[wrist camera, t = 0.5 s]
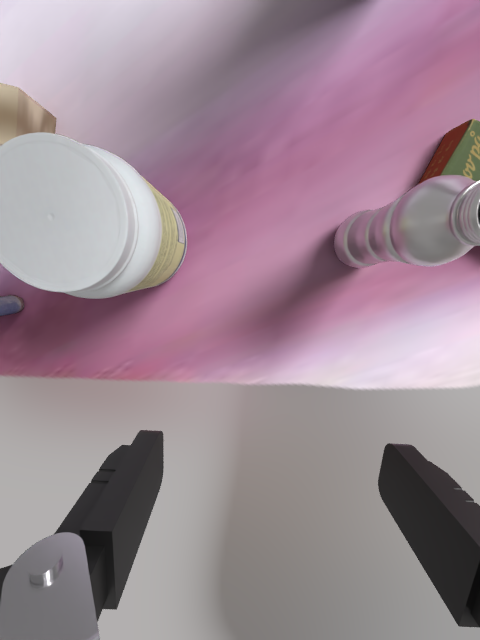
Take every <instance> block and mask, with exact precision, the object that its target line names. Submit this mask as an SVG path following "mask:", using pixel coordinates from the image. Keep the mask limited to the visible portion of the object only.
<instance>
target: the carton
mask: <svg viewBox="0 0 480 640" xmlns="http://www.w3.org/2000/svg"><path fill="white" fill-rule="evenodd" d="M442 175H461V176H465V177H468V178H470V179H472V180H474V181H475V182H476V181H479V180H480V122H479V121H477V120H475V119H471V120H469V121H467V122H465V123H463V124H461V125H460V126H458V127H456V128H454V129H452V130H451V131H449V132H448V133H446V134H445V136H444V138H443V140H442V142H441V143H440V145H439V147H438V149H437V151H436V152H435V154H434V156H433V158H432V160H431V162H430V163H429V165H428V167H427V169H426V171H425V173H424V175H423V176H422V178H421V180H420V182H419V184H420V183H422V182H424V181H425V180H428V179H430V178H433V177H437V176H442Z"/></svg>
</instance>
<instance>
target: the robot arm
mask: <svg viewBox="0 0 480 640" xmlns="http://www.w3.org/2000/svg"><path fill="white" fill-rule="evenodd" d="M162 477H163V432H162V431H147V430H141V431H140V432H139V433H138V434H137V436H136V438H135V439H134V441H133V443H132V444H131V445H122V446H120V447H119V448H118V449H116V450H115V451H114V452H113V453H111V454H110V455H109V456H108V457H107V459H106V460H105V461H104V463H103V464H102V466H101V467H100V469H99V472H97V473H96V475H95V476H94V477H93V479H92V481H91V483H89V485H88V486H87V488H86V489H85V491H84V492H83V494H82V495H81V496H80V498H79V499H78V501H77V502H76V504H75V505H74V506H73V508H72V509H71V511H70V512H69V514H68V515H67V517H66V518H65V519H64V521H63V522H62V524H61V525H60V527H59V528H58V530H57V531H56V532H55V534H54V535H51V536H49V537H46V538H44V539H42V540H40V541H39V542H37V543H35V544H34V545H32V547H30V548H29V549H27V550H26V551H25V552H24V553H23V554H22V555H21V556H20V557H19V558H18V559H17V560H16V561H15V562H14V564H13V565H10V566H7V567H4V568H1V569H0V640H100V636H99V631H98V624H97V621H98V619H99V616H100V614H101V611H102V609H117V607H118V604H119V601H120V598H121V596H122V593H123V590H124V587H125V584H126V581H127V579H128V576H129V573H130V570H131V568H132V565H133V562H134V559H135V557H136V554H137V551H138V548H139V545H140V543H141V540H142V537H143V534H144V531H145V528H146V526H147V523H148V520H149V518H150V515H151V512H152V509H153V506H154V504H155V501H156V498H157V495H158V492H159V489H160V486H161V482H162ZM378 486H379V492H380V495H381V497H382V500H383V502H384V503H385V505H386V506H387V508H388V510H389V512H390V513H391V515H392V516H393V518H394V520H395V522H396V523H397V525H398V527H399V528H400V530H401V532H402V533H403V535H404V536H405V538H406V540H407V541H408V543H409V545H410V546H411V548H412V550H413V551H414V553H415V555H416V556H417V558H418V560H419V561H420V563H421V564H422V566H423V568H424V570H425V571H426V573H427V575H428V576H429V578H430V579H431V581H432V583H433V584H434V586H435V588H436V589H437V591H438V593H439V594H440V596H441V598H442V599H443V601H444V603H445V604H446V606H447V608H448V609H449V611H450V612H451V614H452V616H453V618H454V619H455V621H456V623H457V624H458V626H462V627H480V506H479V505H478V504H477V503H474V500H473V499H472V498H471V497H470V496H469V495H468V494H467V493H466V492H465V491H463V490H462V488H461V487H460V486H459V485H458V484H457V483H456V482H455V481H454V480H453V479H452V478H451V477H450V476H449V475H448V473H446V472H445V471H443V470H442V469H440V468H438V467H437V466H436V465H434V464H433V463H432V462H430V461H427V460H426V459H425V458H424V457H423V456H422V454H421V453H420V452H419V451H418V450H417V449H416V448H415V447H414V446H412V445H407V444H387V445H386V446H385V449H384V454H383V459H382V464H381V469H380V474H379V480H378Z"/></svg>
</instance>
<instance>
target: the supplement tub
mask: <svg viewBox="0 0 480 640" xmlns="http://www.w3.org/2000/svg"><path fill="white" fill-rule="evenodd" d="M186 250H187V234H186V229H185V225H184V222H183V220H182V217H181V215H180V214H179V212H178V210H177V209H176V208H175V207H174V205H173V204H172V203H171V202H170V201H169V200H168V199H167V198H165V197H164V196H163V195H162V194H161V193H160V192H159V191H157V190H156V189H155V188H154V187H153V186H152V185H151V184H150V183H149V182H148V181H146V180H145V179H144V178H143V177H142V176H141V175H140V174H139V173H138V172H137V171H136V170H135V169H134V168H133V167H132V166H131V165H130V164H128V163H127V162H126V161H124V160H123V159H121V158H120V157H118V156H116V155H114V154H113V153H111V152H109V151H107V150H104V149H102V148H99V147H96V146H92V145H87V144H81V143H79V142H77V141H75V140H73V139H71V138H68V137H65V136H62V135H58V134H53V133H44V132H37V133H28V134H24V135H21V136H18V137H15V138H13V139H11V140H9V141H7V142H5V143H4V144H3V145H1V146H0V263H1V264H2V265H3V266H4V267H5V268H6V269H7V270H8V271H9V272H11V273H12V274H13V275H14V276H16V277H17V278H19V279H20V280H22V281H23V282H25V283H27V284H29V285H32V286H34V287H36V288H39V289H43V290H47V291H52V292H63V293H66V294H69V295H72V296H76V297H81V298H90V299H102V298H110V297H114V296H117V295H120V294H124V293H129V292H133V291H137V290H141V289H145V288H151V287H155V286H158V285H160V284H162V283H164V282H166V281H167V280H169V279H170V278H171V277H172V276H173V275H174V274H175V273H176V272H177V271H178V269H179V268H180V266H181V265H182V263H183V260H184V258H185V254H186Z"/></svg>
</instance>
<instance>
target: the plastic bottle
mask: <svg viewBox="0 0 480 640" xmlns="http://www.w3.org/2000/svg"><path fill="white" fill-rule="evenodd" d="M474 246H480V180H479V181H476V182H475V181H474V180H472V179H470V178H468V177H465V176H461V175H442V176H437V177H433V178H430V179H428V180H425V181H424V182H422V183H420V184H418V185H417V186H415V187H414V188H412V189H411V190H409V191H408V192H407V193H405V194H404V195H402V196H401V197H400V198H398V199H397V200H395V201H394V202H392V203H390V204H388V205H386V206H384V207H382V208H379V209H375V210H366V211H360V212H357V213H355V214H353V215H351V216H350V217H348V218H347V219H346V220H345V221H344V222H343V223H342V224H341V225H340V227H339V228H338V230H337V232H336V234H335V238H334V249H335V253H336V255H337V257H338V258H339V259H340V260H341V261H342V262H343V263H344V264H346V265H349V266H351V267H355V268H364V267H369V266H372V265H375V264H377V263H380V262H385V261H396V262H403V263H408V264H413V265H417V266H438V265H442V264H445V263H448V262H450V261H453V260H455V259H458V258H459V257H461V256H463V255H465V254H466V253H467V252H468V251H469V250H471V249H472V248H473V247H474Z"/></svg>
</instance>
